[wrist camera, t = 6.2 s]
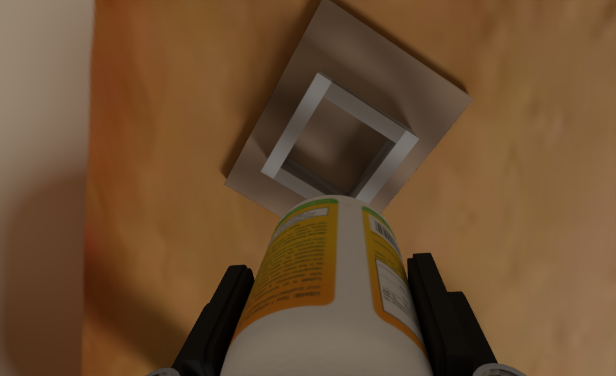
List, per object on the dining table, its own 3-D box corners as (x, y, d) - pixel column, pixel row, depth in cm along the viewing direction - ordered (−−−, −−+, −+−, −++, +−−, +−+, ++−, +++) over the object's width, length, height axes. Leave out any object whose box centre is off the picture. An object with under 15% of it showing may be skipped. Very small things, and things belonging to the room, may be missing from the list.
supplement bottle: (263, 279, 15) (148, 600, 6) (286, 176, 13) (161, 447, 4) (373, 307, 15) (414, 670, 6) (415, 210, 13) (567, 554, 4)
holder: (346, 249, 33) (347, 273, 30) (227, 180, 32) (212, 197, 28) (469, 97, 26) (489, 104, 23) (324, -2, 25) (321, -11, 21)
